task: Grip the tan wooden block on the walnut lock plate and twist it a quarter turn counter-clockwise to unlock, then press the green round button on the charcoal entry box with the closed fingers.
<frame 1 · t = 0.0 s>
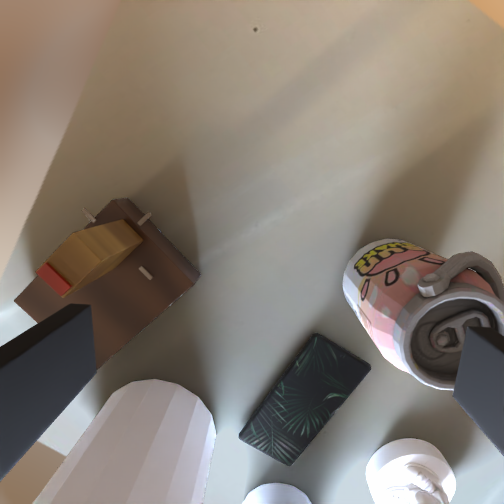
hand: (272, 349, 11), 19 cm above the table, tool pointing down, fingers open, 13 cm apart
container: (158, 429, 35), on the table
tan wooden block: (95, 254, 23), point 7 cm above the table, hinge at 0.0°
lock plate: (117, 282, 31), on the table
smartphone: (301, 398, 33), on the table
character figurine: (408, 471, 35), on the table
beverage can: (388, 275, 30), on the table
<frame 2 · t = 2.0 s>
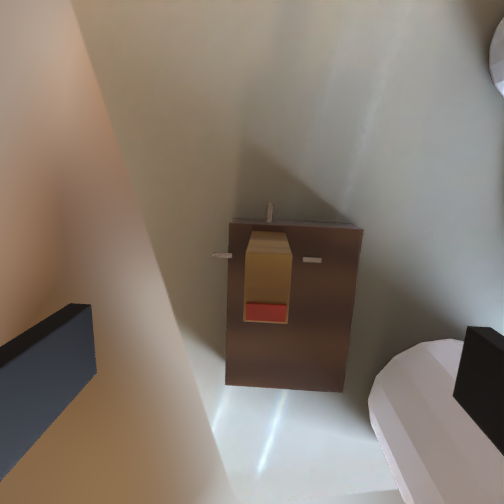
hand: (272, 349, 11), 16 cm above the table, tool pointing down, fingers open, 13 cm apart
container: (438, 400, 29), on the table
tan wooden block: (267, 271, 20), point 7 cm above the table, hinge at 0.0°
lock plate: (287, 298, 28), on the table
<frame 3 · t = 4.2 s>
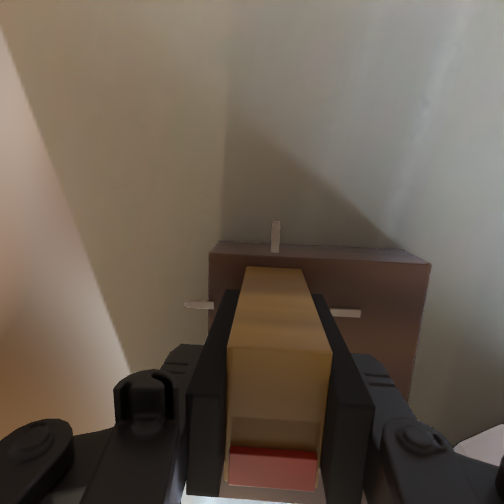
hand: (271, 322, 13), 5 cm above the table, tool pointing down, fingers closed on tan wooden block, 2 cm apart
tan wooden block: (272, 349, 11), point 7 cm above the table, hinge at -0.1°, touching gripper
lock plate: (300, 360, 18), on the table
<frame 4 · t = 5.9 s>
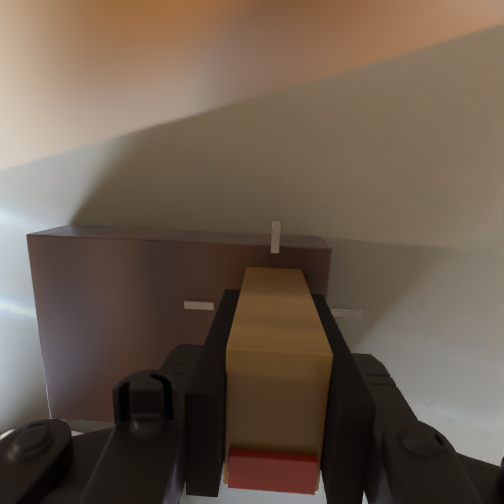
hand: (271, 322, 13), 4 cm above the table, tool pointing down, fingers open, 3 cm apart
tan wooden block: (272, 350, 11), point 7 cm above the table, hinge at 89.8°
lock plate: (192, 315, 18), on the table
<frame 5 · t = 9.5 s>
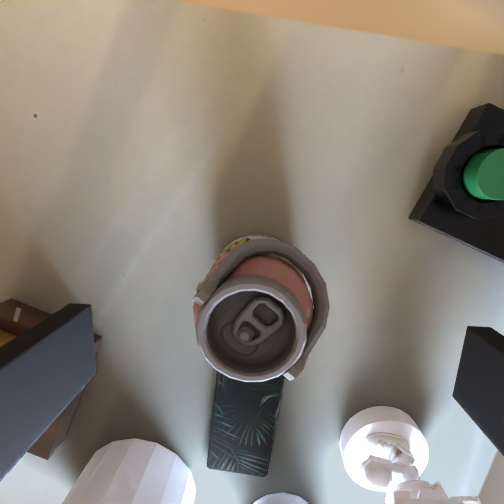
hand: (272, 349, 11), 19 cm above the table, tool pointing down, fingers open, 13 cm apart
entry box: (488, 189, 27), on the table
container: (140, 483, 37), on the table
lock plate: (39, 371, 34), on the table
smartphone: (245, 409, 33), on the table
character figurine: (383, 440, 34), on the table
beverage can: (261, 269, 30), on the table
open button: (495, 174, 23), point 4 cm above the table, slide at 0.1 cm
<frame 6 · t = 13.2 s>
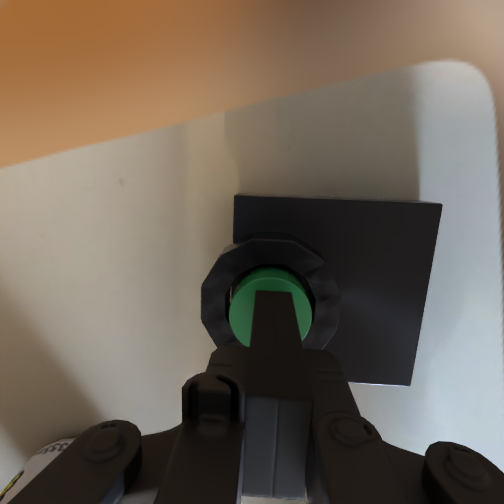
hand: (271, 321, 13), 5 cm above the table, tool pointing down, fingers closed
entry box: (320, 283, 18), on the table
beverage can: (92, 468, 22), on the table
open button: (269, 308, 14), point 4 cm above the table, slide at -0.3 cm, touching gripper
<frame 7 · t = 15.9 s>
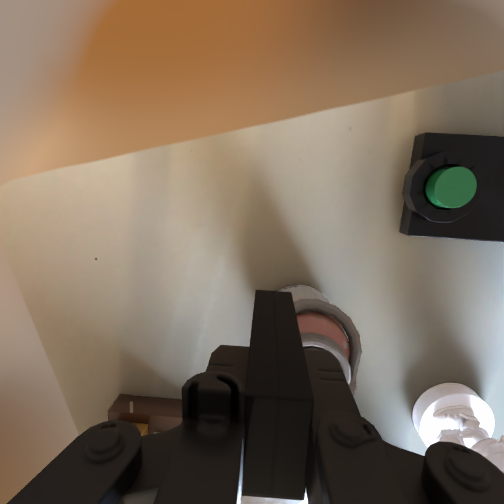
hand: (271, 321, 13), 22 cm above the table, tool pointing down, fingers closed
entry box: (455, 188, 33), on the table
tan wooden block: (118, 456, 34), point 7 cm above the table, hinge at 89.8°
lock plate: (157, 443, 42), on the table
character figurine: (450, 412, 38), on the table
beverage can: (298, 310, 37), on the table
open button: (450, 187, 28), point 4 cm above the table, slide at 0.1 cm
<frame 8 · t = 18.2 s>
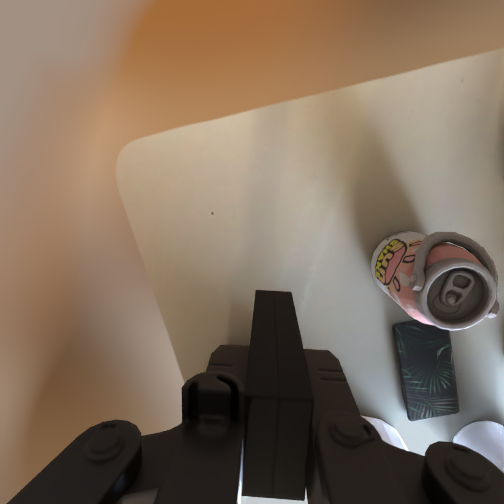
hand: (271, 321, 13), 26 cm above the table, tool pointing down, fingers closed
container: (358, 452, 46), on the table
smartphone: (424, 366, 42), on the table
cup: (480, 444, 45), on the table
beverage can: (402, 257, 39), on the table
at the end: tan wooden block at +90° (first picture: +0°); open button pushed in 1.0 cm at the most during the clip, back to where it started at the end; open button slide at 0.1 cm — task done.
